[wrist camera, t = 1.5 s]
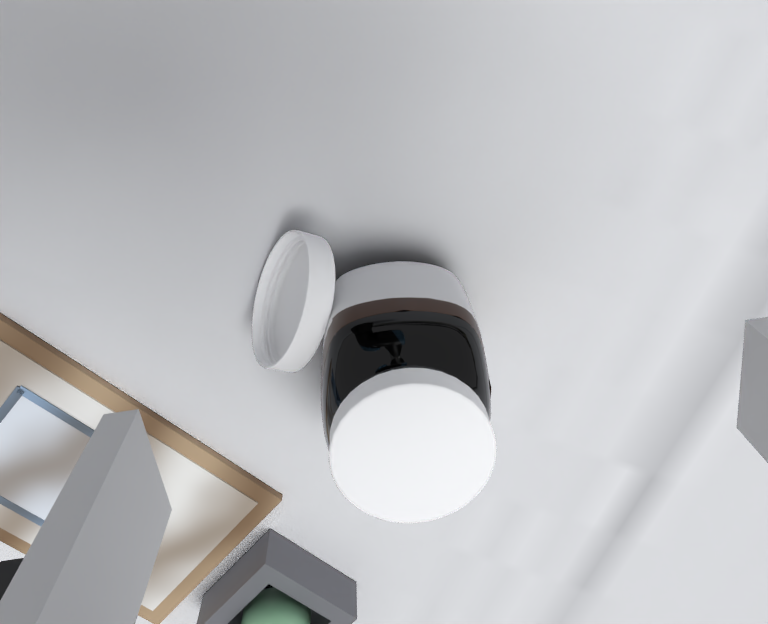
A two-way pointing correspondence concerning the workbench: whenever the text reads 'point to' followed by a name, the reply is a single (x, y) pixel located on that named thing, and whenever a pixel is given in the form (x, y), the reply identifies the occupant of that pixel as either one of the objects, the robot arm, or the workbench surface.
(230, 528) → the picture frame
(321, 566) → the button housing
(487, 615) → the workbench surface
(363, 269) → the spread jar
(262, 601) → the button
